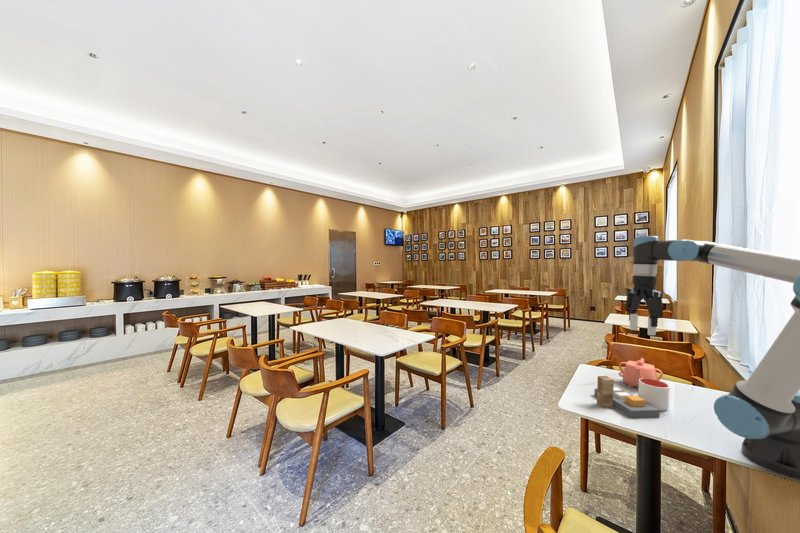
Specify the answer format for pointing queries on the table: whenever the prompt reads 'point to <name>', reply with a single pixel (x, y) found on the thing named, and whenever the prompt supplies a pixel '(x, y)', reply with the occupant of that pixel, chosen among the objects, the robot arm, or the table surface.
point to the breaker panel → (628, 410)
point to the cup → (654, 393)
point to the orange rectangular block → (635, 401)
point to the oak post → (605, 392)
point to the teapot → (638, 372)
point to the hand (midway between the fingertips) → (642, 332)
